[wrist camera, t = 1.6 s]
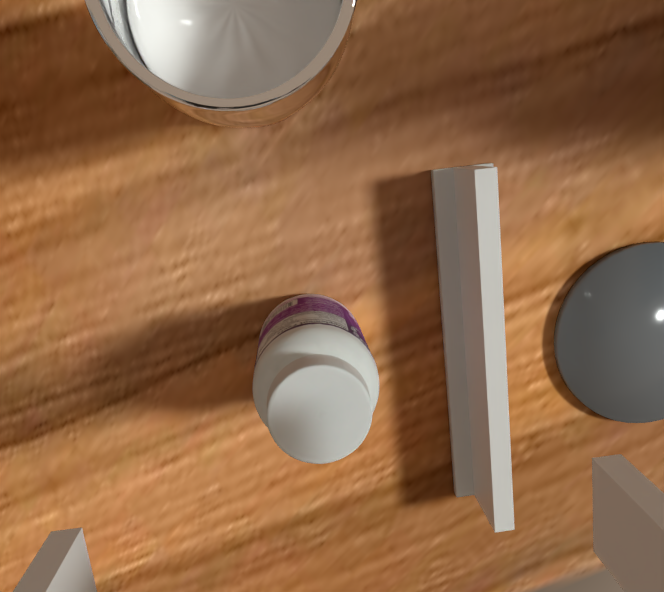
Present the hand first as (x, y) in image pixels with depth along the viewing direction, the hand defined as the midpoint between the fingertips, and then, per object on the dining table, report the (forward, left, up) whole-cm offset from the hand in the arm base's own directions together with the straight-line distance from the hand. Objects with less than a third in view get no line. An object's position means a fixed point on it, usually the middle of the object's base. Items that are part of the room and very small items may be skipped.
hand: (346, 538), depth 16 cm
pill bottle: (0, 0, -17) cm, 17 cm away
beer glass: (-1, +14, -17) cm, 22 cm away
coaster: (+18, -2, -17) cm, 25 cm away
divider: (+8, -1, -17) cm, 19 cm away
